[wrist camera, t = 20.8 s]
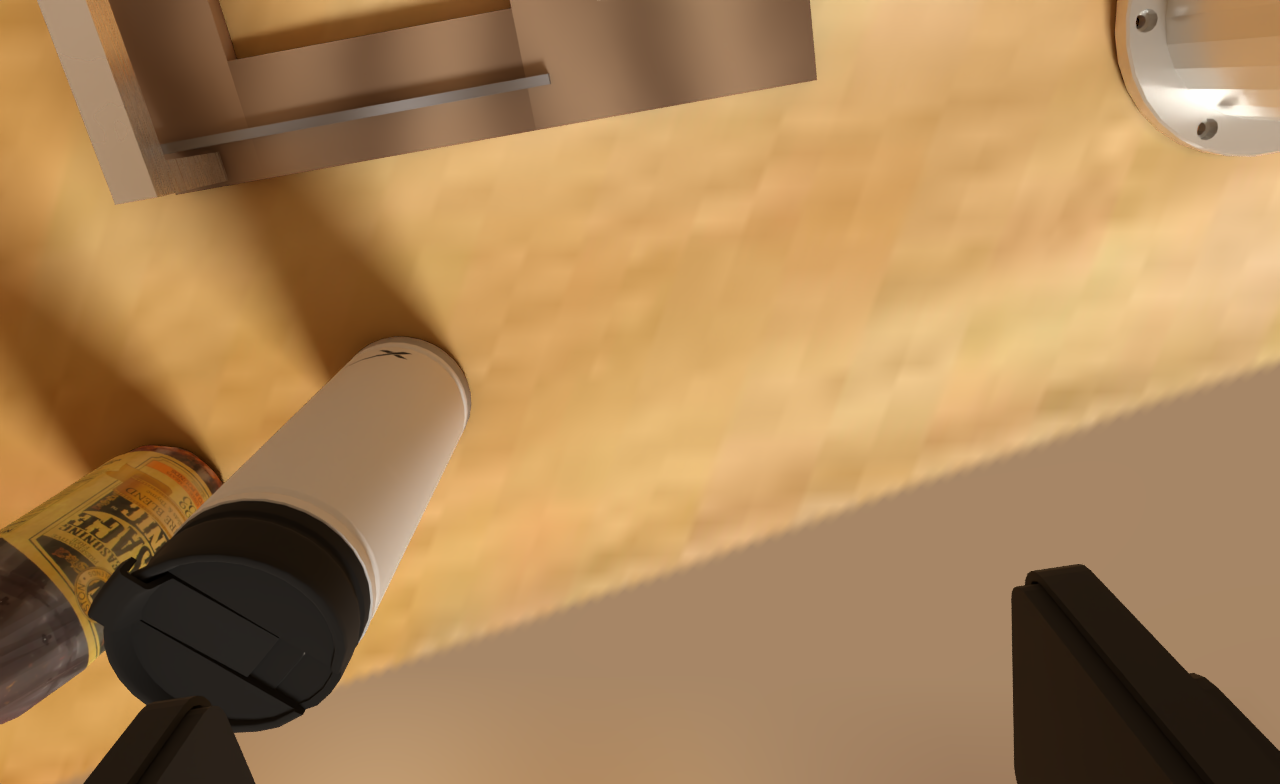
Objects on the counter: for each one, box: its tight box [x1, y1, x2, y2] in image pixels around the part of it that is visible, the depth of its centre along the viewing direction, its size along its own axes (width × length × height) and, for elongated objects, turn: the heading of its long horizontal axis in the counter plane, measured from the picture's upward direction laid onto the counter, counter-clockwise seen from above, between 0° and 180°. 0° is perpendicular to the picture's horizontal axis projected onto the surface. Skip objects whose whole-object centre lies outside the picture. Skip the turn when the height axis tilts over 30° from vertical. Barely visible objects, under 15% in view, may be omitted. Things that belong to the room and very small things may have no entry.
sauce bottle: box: [0, 445, 223, 724], centre depth 33 cm, size 7×6×20 cm
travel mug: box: [88, 337, 471, 733], centre depth 31 cm, size 6×7×20 cm
